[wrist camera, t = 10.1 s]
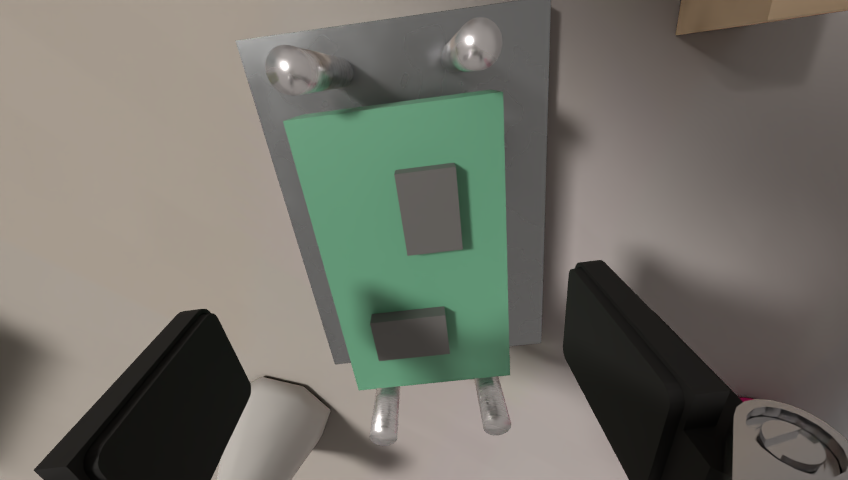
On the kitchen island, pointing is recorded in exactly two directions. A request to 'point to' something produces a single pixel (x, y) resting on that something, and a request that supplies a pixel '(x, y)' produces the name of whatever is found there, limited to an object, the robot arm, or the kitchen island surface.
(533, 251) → the chassis
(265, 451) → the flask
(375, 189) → the board
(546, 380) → the kitchen island surface
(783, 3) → the block
